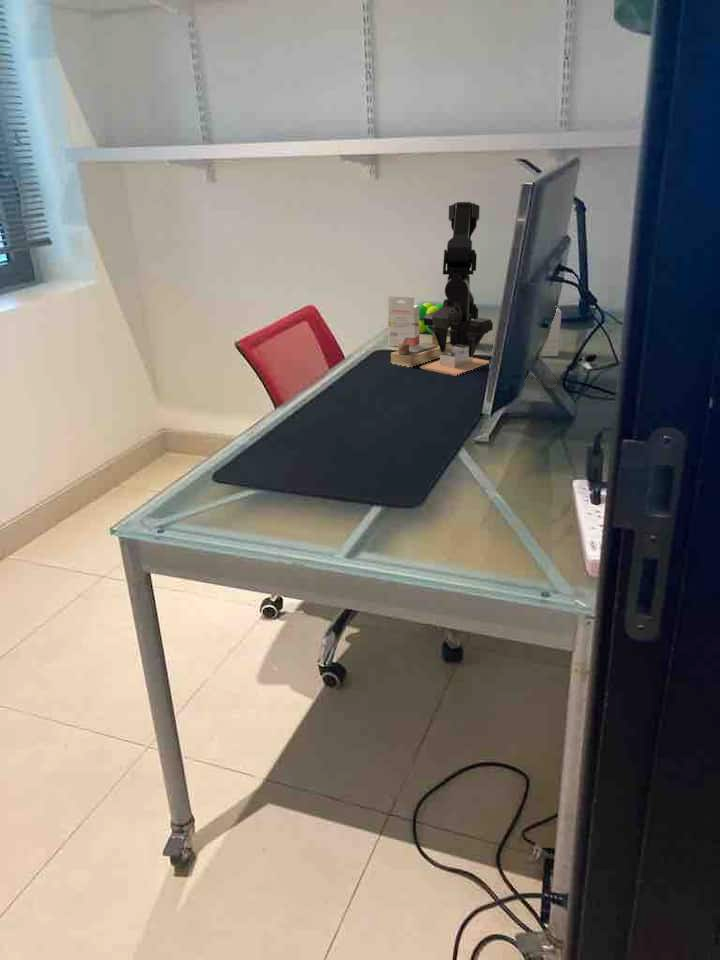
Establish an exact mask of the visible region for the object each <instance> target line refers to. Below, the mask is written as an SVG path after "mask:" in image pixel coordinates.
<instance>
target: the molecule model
mask: <svg viewBox="0 0 720 960" xmlns="http://www.w3.org/2000/svg"><path fill="white" fill-rule="evenodd" d="M418 305H419V334H422V333H425V332H426V331H427V332H428V334H430V335H432V334H433V333H434V332H433V331H432V330H431V329H429V328H428V327H427V326H428V325H424V317H425V315H426V314H429V313H433V312H436V311H438V310H439V309H441V308H442V307H443V303H437V304H435V305H433V304H432V303H430V302H425V303H423V304H418Z"/></svg>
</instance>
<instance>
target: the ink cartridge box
mask: <svg viewBox="0 0 720 960" xmlns="http://www.w3.org/2000/svg"><path fill="white" fill-rule="evenodd" d="M387 301H388V303H387V305H388V306H387V338H388V339H387V341H388V343H387V345H388V346H389V347H399V344H409V347H412V346H415V345H419V344H420V333H419V305H420V304H415V297H414V296H388V300H387ZM398 301H403V302H398Z"/></svg>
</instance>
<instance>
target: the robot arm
mask: <svg viewBox="0 0 720 960" xmlns="http://www.w3.org/2000/svg"><path fill="white" fill-rule="evenodd" d="M480 207H481V206H480V205H479V204H476V203H474V202H471V201H456V202H454V203H453V204H450V205H449V206H448V221H449V222H450V227H451V230H452V233H453V234H452V238H450V239H449V240H448V241H447V246H446V249H444V250H443V264H442V265H443V266H442V267H443V268H442V275H447V282H446V285H445V287H444V293H445V297H446V299H444V300H443V302H442V304H443V307H442V308H441V309H439V310H438V311H436V312H433V313H429V314H426V315H425V317H424V325H428V326H427V327H428V328H429V329H431V330H432V331H433V332H434V333H435V336H436V338H437V341H438V344H439V347H440V350H441V352H444V351H445V348H446V344H451V346H453V345H456V344H462V345H468V346H469V357H472V356H473V357H474V355H475V352H476V350H477V348H478V345H479V344H480V342H481V340H482V339H483V337H484V336H485V334H488V333H489V332H490V331H491V332H492V331H493V329H494V328H493V327H494V325H493V324H494V323H493V321H492V320H491V319H490V318H483V317H479V308H478V307H477V303H475V296H474V295H473V293H472V290H470V289H471V288H470V286H471V285H470V284H471V281H470V280H471V277H470V275H471V276H472V275H474V272H475V271H477V257H478V254H477V253H476V250H475V249H473V240H472V239H471V238H472V235H473V233H474V232H475V230H476V228H477V226H478V225H477V223H478V221H480V216H481V215H480V212H481V211H480V210H481V208H480ZM449 328H450V330H449ZM448 331H449V332H448ZM448 333H449V341H448V342H447V338H448Z"/></svg>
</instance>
